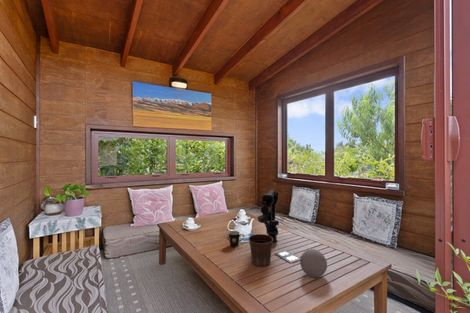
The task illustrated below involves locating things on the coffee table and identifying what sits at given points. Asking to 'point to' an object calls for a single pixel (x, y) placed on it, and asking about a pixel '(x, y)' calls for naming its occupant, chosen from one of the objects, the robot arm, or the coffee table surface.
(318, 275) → the decorative ball
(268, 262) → the plant pot
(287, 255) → the panel
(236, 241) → the coffee mug
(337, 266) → the coffee table surface
